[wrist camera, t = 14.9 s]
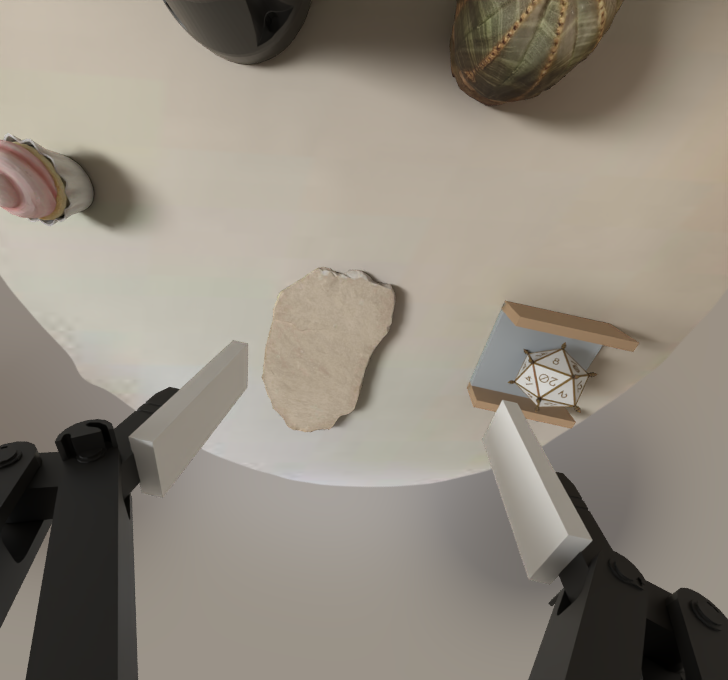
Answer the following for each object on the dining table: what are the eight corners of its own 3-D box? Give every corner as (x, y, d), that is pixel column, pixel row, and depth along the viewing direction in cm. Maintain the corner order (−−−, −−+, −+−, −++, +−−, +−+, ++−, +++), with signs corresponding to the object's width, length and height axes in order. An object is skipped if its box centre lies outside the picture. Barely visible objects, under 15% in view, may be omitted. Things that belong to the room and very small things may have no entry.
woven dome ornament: (556, 106, 30) (642, 62, 20) (444, 124, 32) (467, 92, 21) (577, -52, 25) (705, -224, 15) (444, -22, 27) (473, -157, 16)
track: (505, 300, 40) (520, 316, 35) (609, 323, 39) (639, 342, 35) (467, 387, 46) (475, 411, 41) (556, 407, 46) (575, 433, 41)
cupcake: (58, 121, 35) (-56, 99, 27) (120, 196, 39) (37, 199, 30) (19, 168, 38) (-96, 163, 30) (80, 235, 42) (-7, 248, 33)
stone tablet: (408, 287, 41) (408, 293, 38) (339, 437, 54) (336, 447, 52) (292, 241, 40) (285, 243, 37) (251, 405, 53) (244, 414, 51)
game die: (515, 357, 46) (487, 397, 40) (548, 317, 40) (521, 359, 34) (573, 394, 43) (551, 443, 37) (619, 357, 36) (602, 410, 31)
